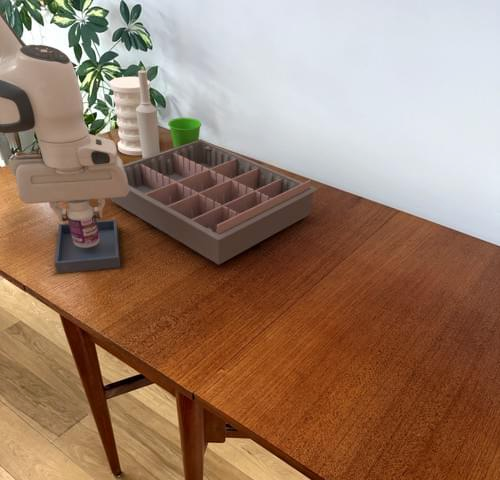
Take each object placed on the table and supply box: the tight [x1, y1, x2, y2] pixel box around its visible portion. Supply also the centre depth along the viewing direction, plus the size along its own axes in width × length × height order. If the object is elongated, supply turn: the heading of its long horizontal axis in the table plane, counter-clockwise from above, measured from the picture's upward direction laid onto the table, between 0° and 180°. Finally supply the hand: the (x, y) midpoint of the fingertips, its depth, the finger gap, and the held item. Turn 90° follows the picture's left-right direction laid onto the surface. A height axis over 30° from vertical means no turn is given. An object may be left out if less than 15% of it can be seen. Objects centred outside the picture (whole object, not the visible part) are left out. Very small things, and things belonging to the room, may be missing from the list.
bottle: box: [136, 69, 161, 159], centre depth 119 cm, size 5×5×25 cm
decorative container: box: [109, 76, 151, 157], centre depth 133 cm, size 12×12×18 cm
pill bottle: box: [67, 200, 100, 248], centre depth 94 cm, size 5×5×10 cm
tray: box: [54, 219, 121, 274], centre depth 98 cm, size 12×15×2 cm
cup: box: [167, 117, 202, 148], centre depth 129 cm, size 9×9×11 cm
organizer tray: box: [107, 138, 318, 265], centre depth 109 cm, size 32×40×10 cm
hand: (82, 218), depth 94 cm, fingers closed on pill bottle, 5 cm apart
